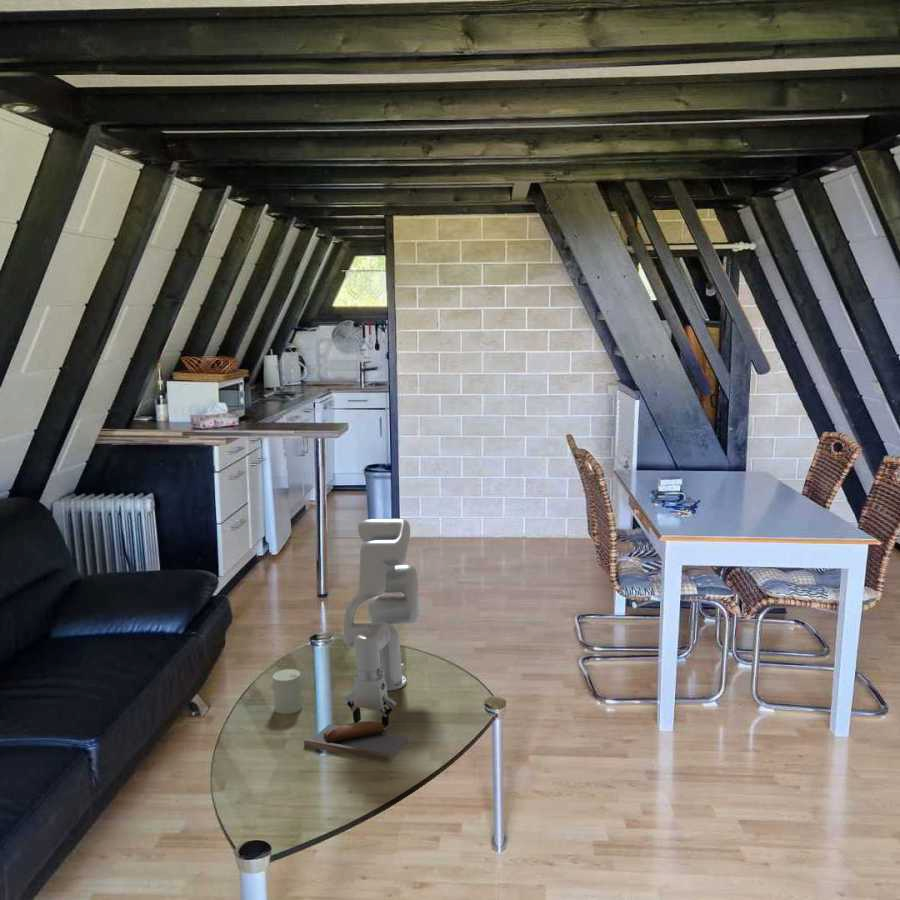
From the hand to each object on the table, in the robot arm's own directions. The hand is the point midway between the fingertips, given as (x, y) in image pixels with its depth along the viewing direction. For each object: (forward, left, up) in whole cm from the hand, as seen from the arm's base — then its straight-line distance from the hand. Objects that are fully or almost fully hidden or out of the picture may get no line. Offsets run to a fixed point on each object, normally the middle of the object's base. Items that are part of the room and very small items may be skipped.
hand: (371, 724), depth 256 cm
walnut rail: (+16, 0, -2) cm, 16 cm away
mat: (+8, 0, -2) cm, 9 cm away
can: (-4, -33, -2) cm, 33 cm away
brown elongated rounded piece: (+6, -3, -2) cm, 7 cm away
